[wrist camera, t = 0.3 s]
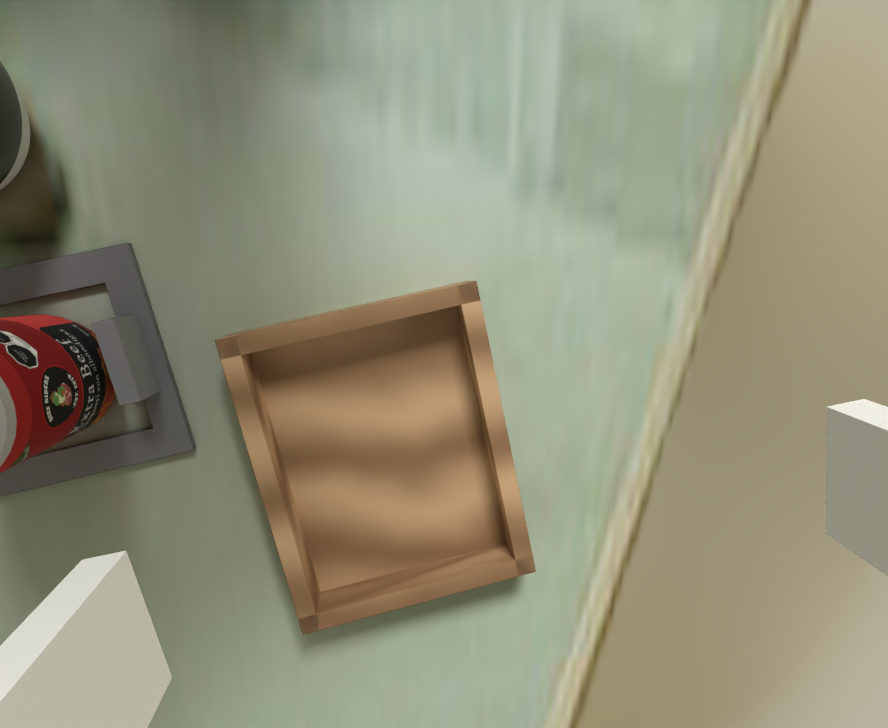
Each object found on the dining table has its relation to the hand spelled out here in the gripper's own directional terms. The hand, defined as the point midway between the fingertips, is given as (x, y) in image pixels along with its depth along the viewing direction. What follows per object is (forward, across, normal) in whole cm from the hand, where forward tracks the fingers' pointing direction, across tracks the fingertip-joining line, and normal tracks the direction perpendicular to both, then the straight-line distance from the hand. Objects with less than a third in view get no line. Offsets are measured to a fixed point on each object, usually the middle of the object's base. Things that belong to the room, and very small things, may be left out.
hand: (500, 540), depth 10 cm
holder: (+26, -23, +1) cm, 35 cm away
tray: (+26, -4, -8) cm, 28 cm away
